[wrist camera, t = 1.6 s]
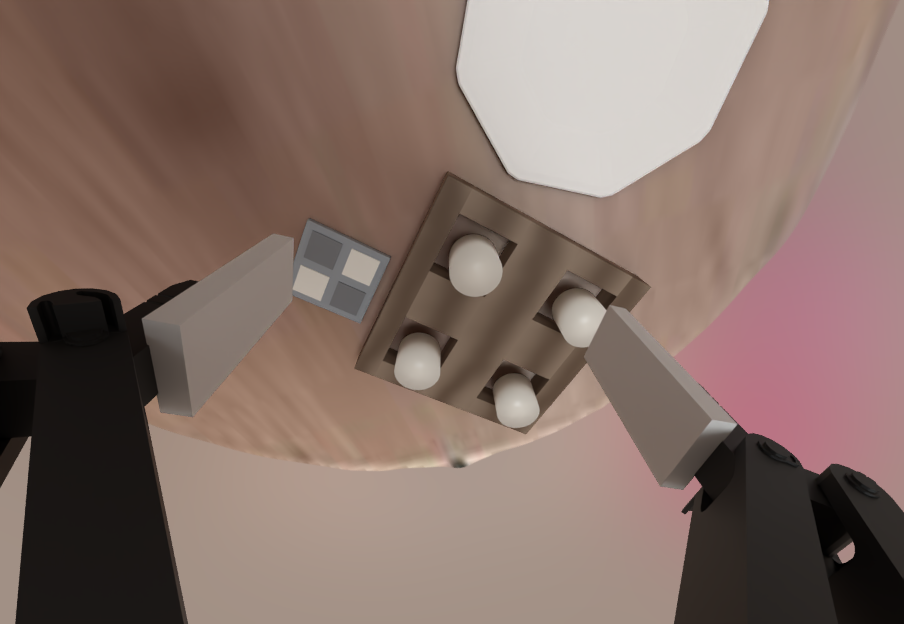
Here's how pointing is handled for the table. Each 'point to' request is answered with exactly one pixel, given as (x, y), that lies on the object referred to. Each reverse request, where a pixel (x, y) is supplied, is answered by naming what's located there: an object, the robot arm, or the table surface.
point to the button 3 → (515, 400)
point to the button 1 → (418, 361)
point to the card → (336, 271)
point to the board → (492, 304)
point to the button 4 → (578, 316)
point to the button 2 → (474, 265)
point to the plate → (600, 82)
